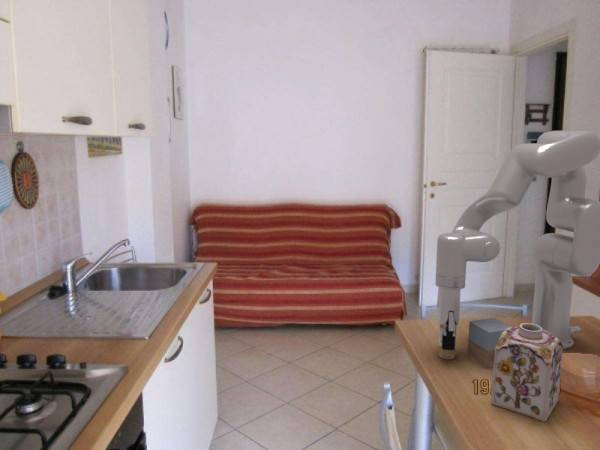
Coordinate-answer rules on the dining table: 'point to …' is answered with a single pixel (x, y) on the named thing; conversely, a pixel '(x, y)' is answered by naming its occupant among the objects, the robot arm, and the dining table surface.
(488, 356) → the walnut base block
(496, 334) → the slate top block
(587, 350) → the dining table surface
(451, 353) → the sprinkles bottle
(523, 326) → the decorative jar
